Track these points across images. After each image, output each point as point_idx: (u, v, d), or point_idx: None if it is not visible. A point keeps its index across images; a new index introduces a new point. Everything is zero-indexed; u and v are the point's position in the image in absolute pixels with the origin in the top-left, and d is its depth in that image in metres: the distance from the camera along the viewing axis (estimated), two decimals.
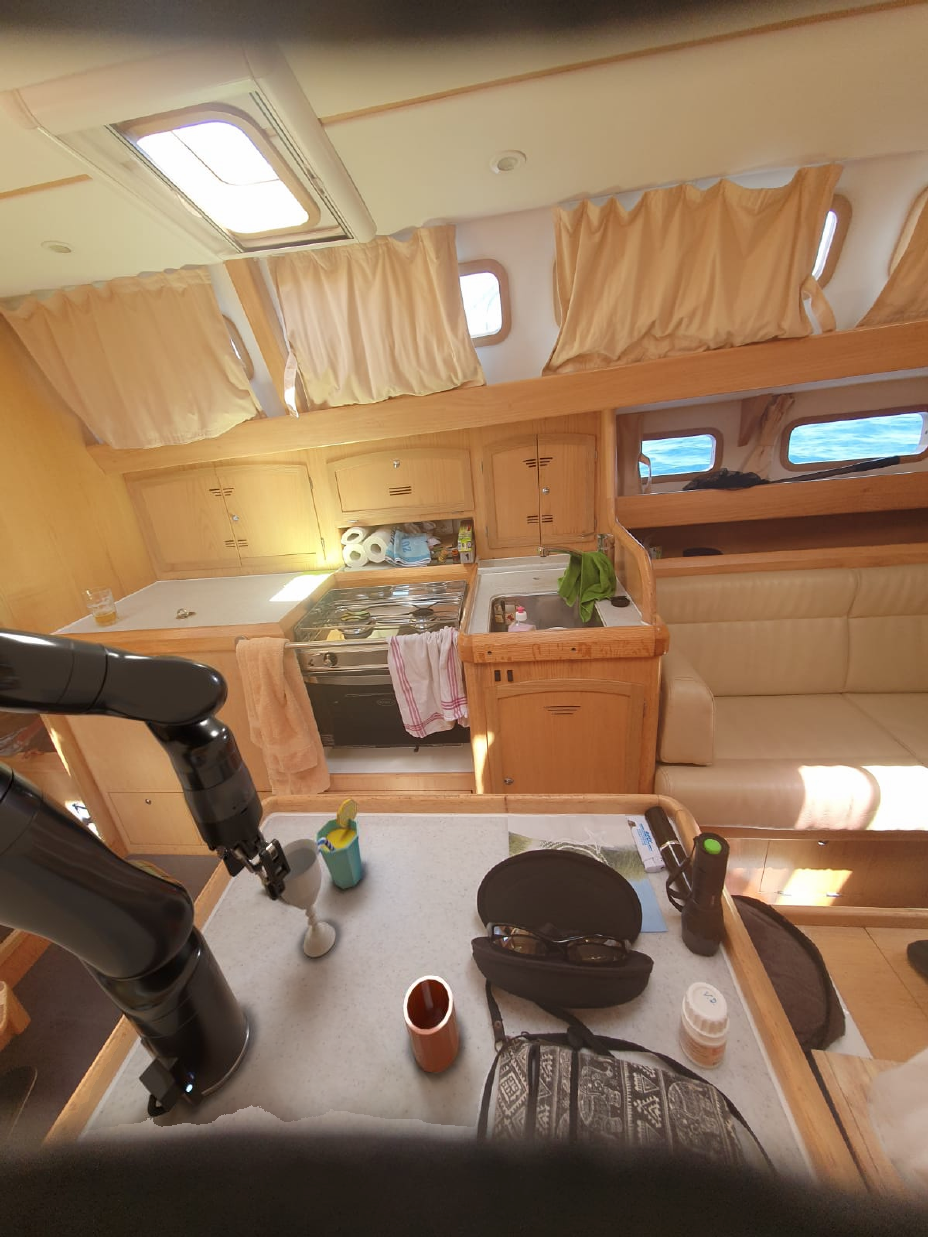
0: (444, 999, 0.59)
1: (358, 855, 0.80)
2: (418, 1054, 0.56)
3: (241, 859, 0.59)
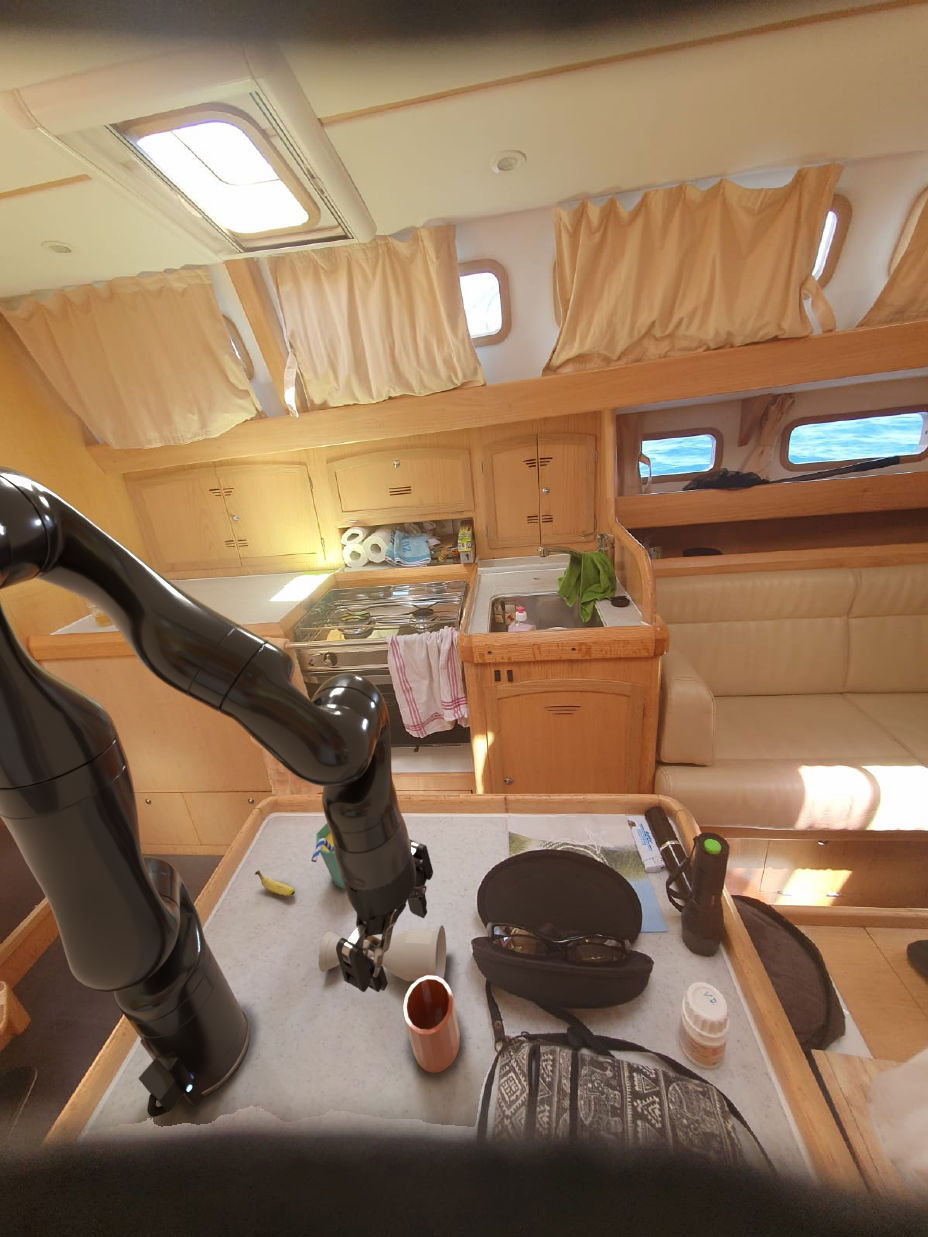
0: (444, 999, 0.59)
1: None
2: (418, 1054, 0.56)
3: None
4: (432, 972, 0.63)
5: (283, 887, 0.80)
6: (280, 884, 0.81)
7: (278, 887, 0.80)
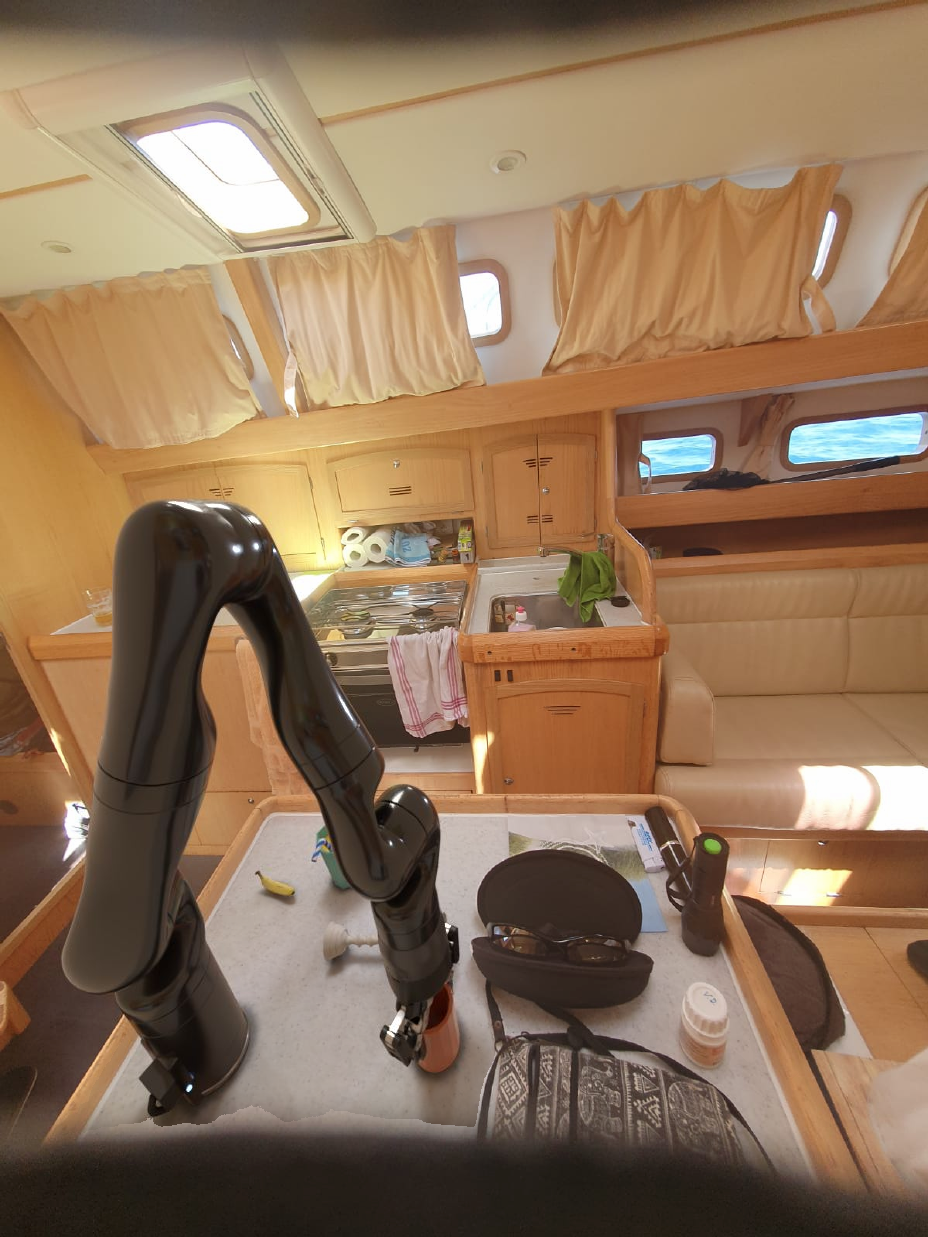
0: (444, 999, 0.59)
1: None
2: None
3: None
4: None
5: (283, 887, 0.80)
6: (280, 884, 0.81)
7: (278, 887, 0.80)
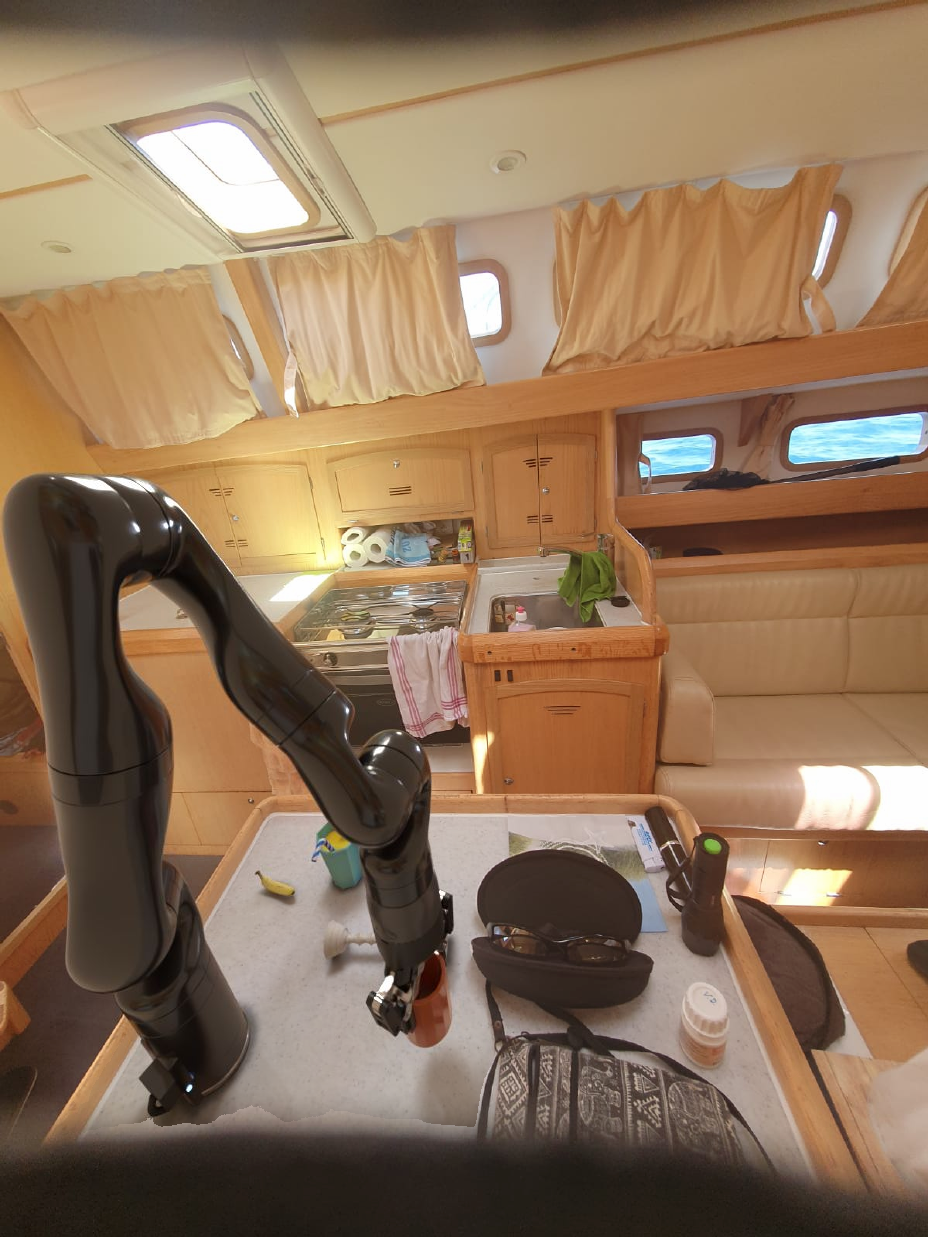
0: (437, 971, 0.56)
1: (358, 855, 0.80)
2: None
3: None
4: None
5: (283, 887, 0.80)
6: (280, 884, 0.81)
7: (278, 887, 0.80)
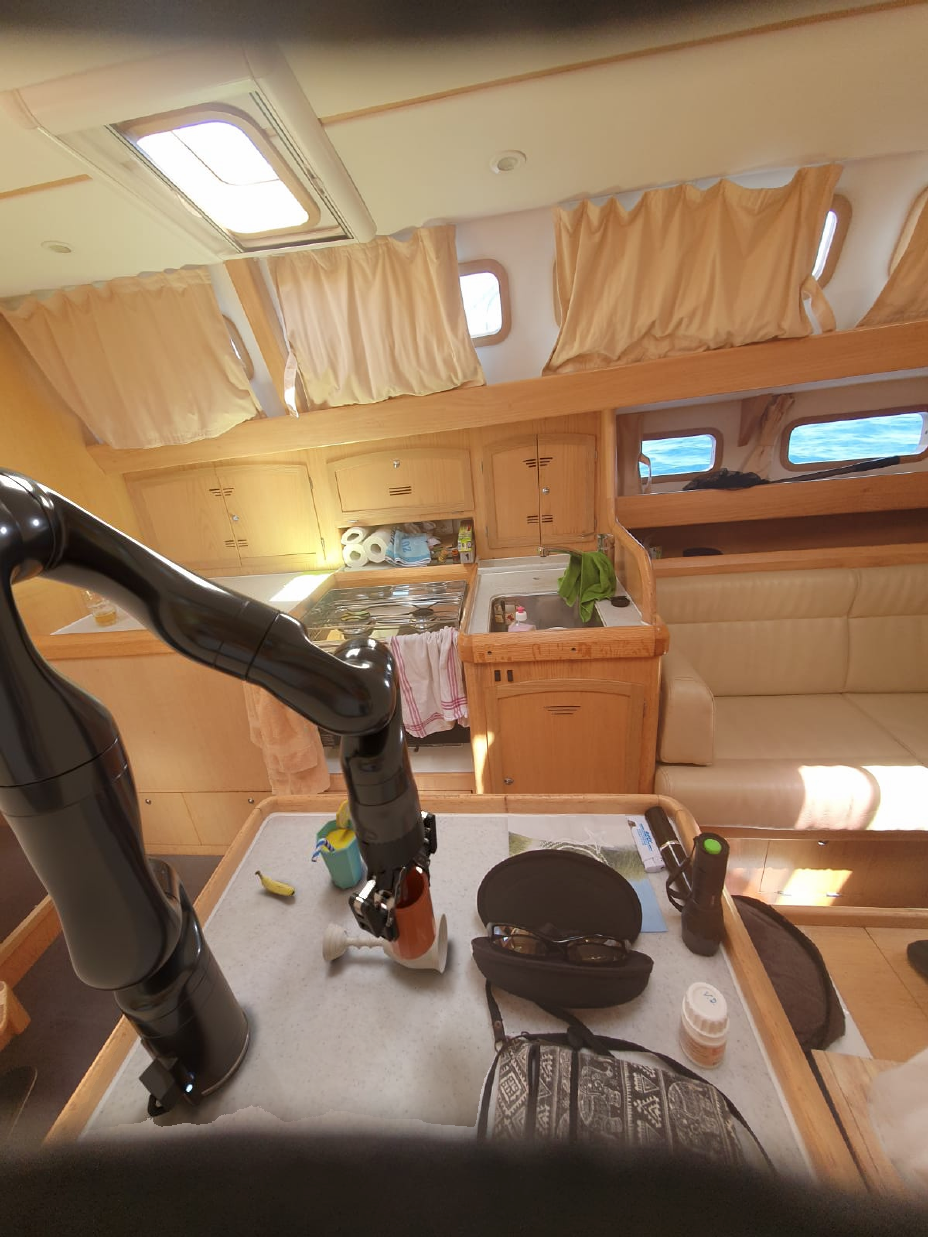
0: (421, 890, 0.58)
1: (358, 855, 0.80)
2: None
3: None
4: (434, 945, 0.65)
5: (283, 887, 0.80)
6: (280, 884, 0.81)
7: (278, 887, 0.80)
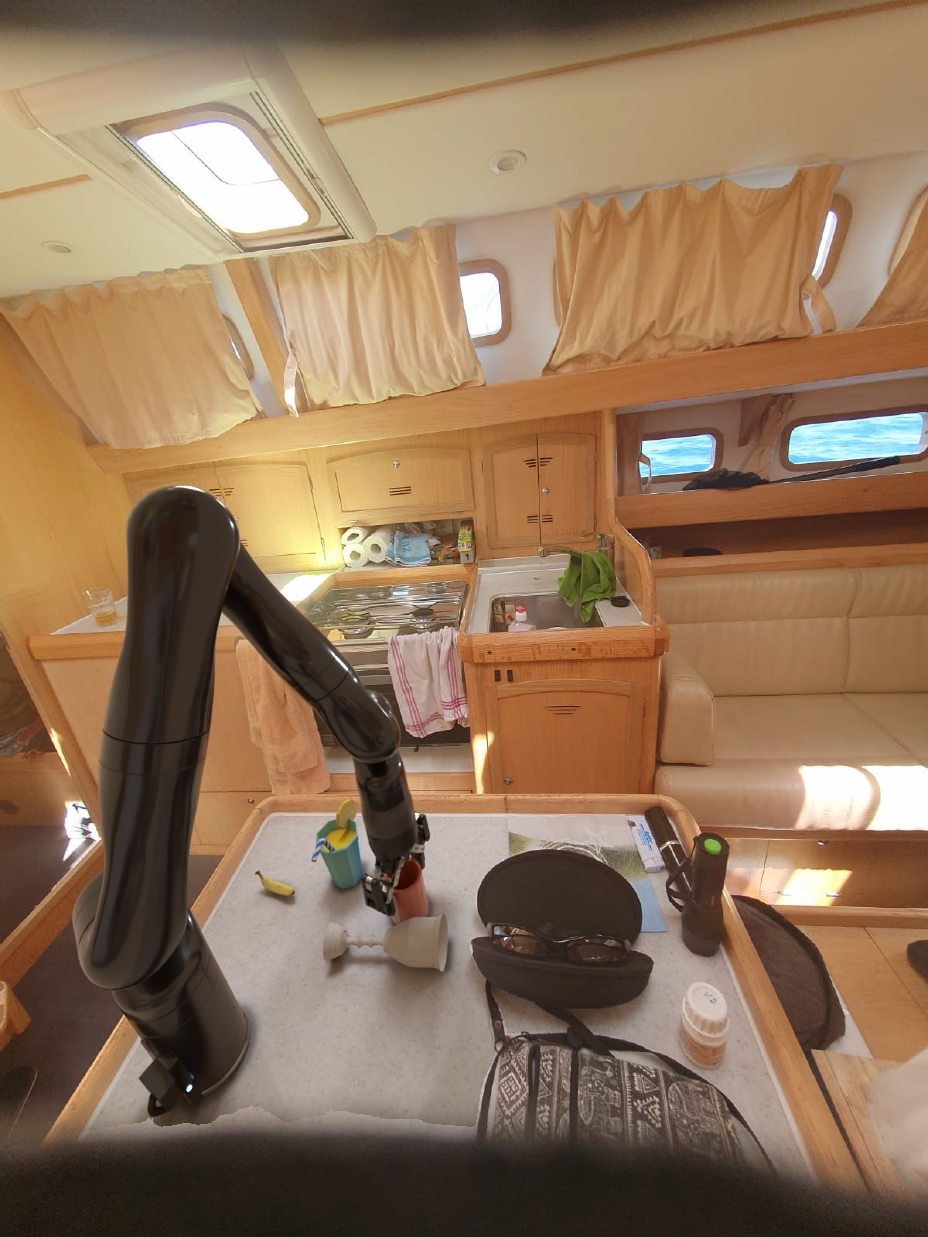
0: (416, 876, 0.75)
1: (358, 855, 0.80)
2: None
3: None
4: (434, 943, 0.65)
5: (283, 887, 0.80)
6: (280, 884, 0.81)
7: (278, 887, 0.80)
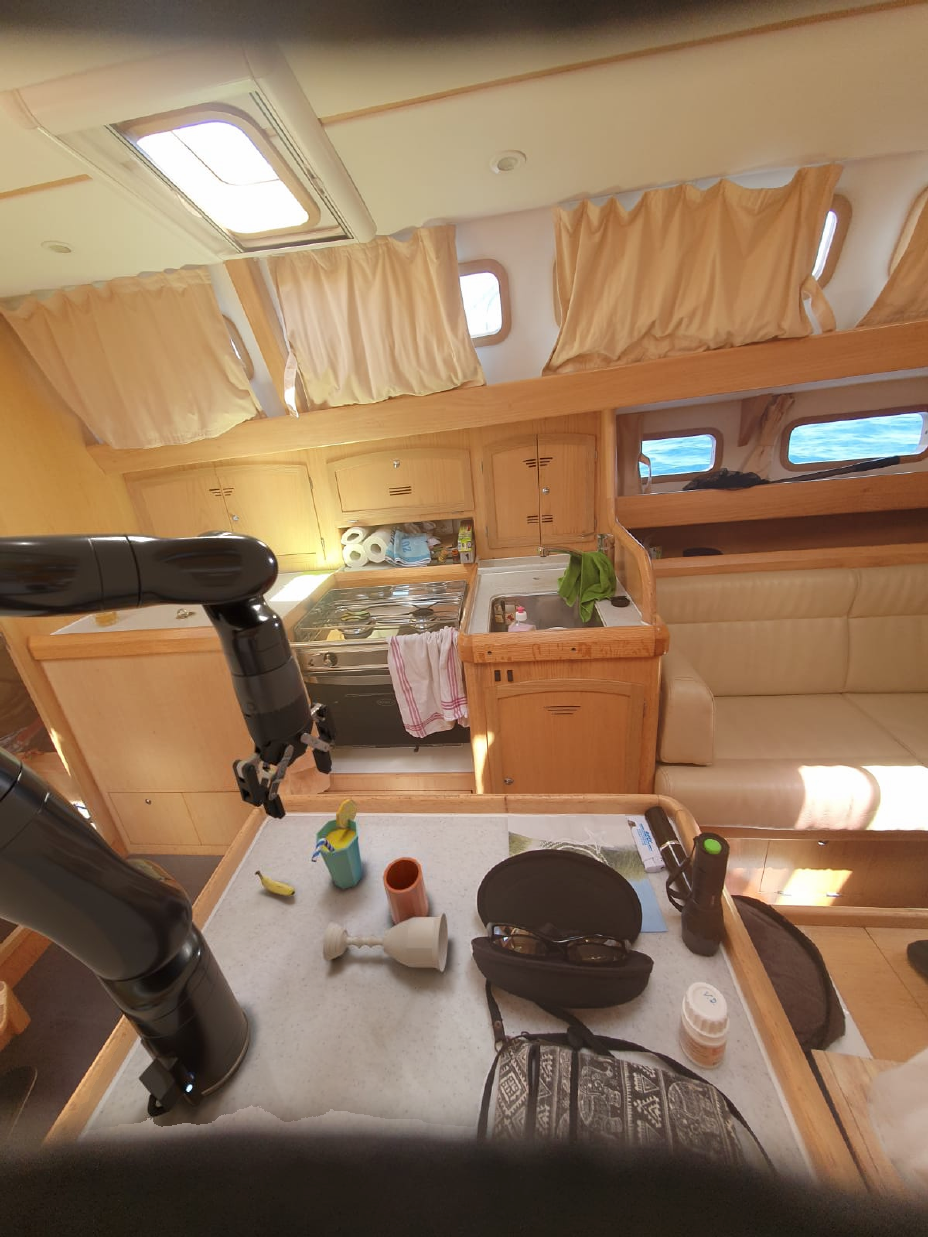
0: (416, 876, 0.75)
1: (358, 855, 0.80)
2: (394, 913, 0.72)
3: None
4: (434, 943, 0.65)
5: (283, 887, 0.80)
6: (280, 884, 0.81)
7: (278, 887, 0.80)
